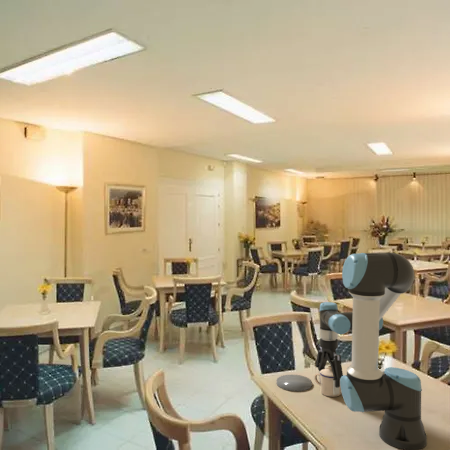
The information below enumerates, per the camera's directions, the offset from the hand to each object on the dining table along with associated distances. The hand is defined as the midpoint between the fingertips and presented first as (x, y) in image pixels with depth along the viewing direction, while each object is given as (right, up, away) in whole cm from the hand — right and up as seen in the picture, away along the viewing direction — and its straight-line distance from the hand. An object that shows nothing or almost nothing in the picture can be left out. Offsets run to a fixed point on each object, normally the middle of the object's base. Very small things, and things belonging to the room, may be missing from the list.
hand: (329, 389), depth 178 cm
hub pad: (-14, -1, +10) cm, 17 cm away
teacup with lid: (0, -2, +1) cm, 2 cm away
